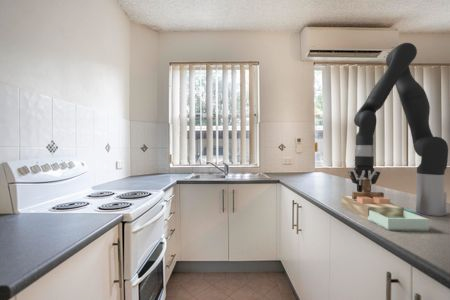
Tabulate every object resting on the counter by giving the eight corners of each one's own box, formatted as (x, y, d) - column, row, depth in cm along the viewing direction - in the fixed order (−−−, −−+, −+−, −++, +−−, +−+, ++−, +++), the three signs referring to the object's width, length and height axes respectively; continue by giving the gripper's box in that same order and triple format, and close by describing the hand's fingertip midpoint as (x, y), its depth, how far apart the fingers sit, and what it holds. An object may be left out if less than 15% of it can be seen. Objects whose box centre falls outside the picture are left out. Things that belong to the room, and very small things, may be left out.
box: (403, 220, 95) (404, 210, 95) (429, 230, 83) (429, 219, 83) (367, 219, 95) (367, 209, 95) (388, 230, 83) (388, 218, 83)
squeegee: (363, 198, 131) (382, 198, 130) (363, 201, 131) (382, 202, 130) (398, 214, 102) (423, 214, 101) (398, 218, 102) (423, 218, 102)
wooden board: (370, 206, 117) (370, 196, 117) (403, 220, 95) (404, 207, 95) (341, 206, 117) (341, 195, 117) (367, 219, 95) (368, 207, 95)
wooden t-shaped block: (374, 196, 113) (375, 179, 113) (383, 199, 107) (383, 181, 107) (346, 196, 114) (346, 179, 114) (353, 199, 107) (354, 181, 107)
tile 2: (383, 201, 106) (383, 196, 106) (390, 203, 101) (390, 199, 101) (372, 201, 106) (372, 196, 106) (379, 203, 101) (379, 198, 101)
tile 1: (367, 201, 106) (367, 196, 106) (373, 203, 101) (373, 198, 101) (356, 201, 106) (356, 196, 106) (362, 203, 101) (362, 198, 101)
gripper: (374, 155, 114) (374, 191, 115) (344, 154, 115) (344, 191, 115) (385, 155, 107) (384, 195, 107) (352, 155, 107) (352, 194, 107)
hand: (363, 193), depth 111 cm, fingers closed on wooden t-shaped block, 3 cm apart
